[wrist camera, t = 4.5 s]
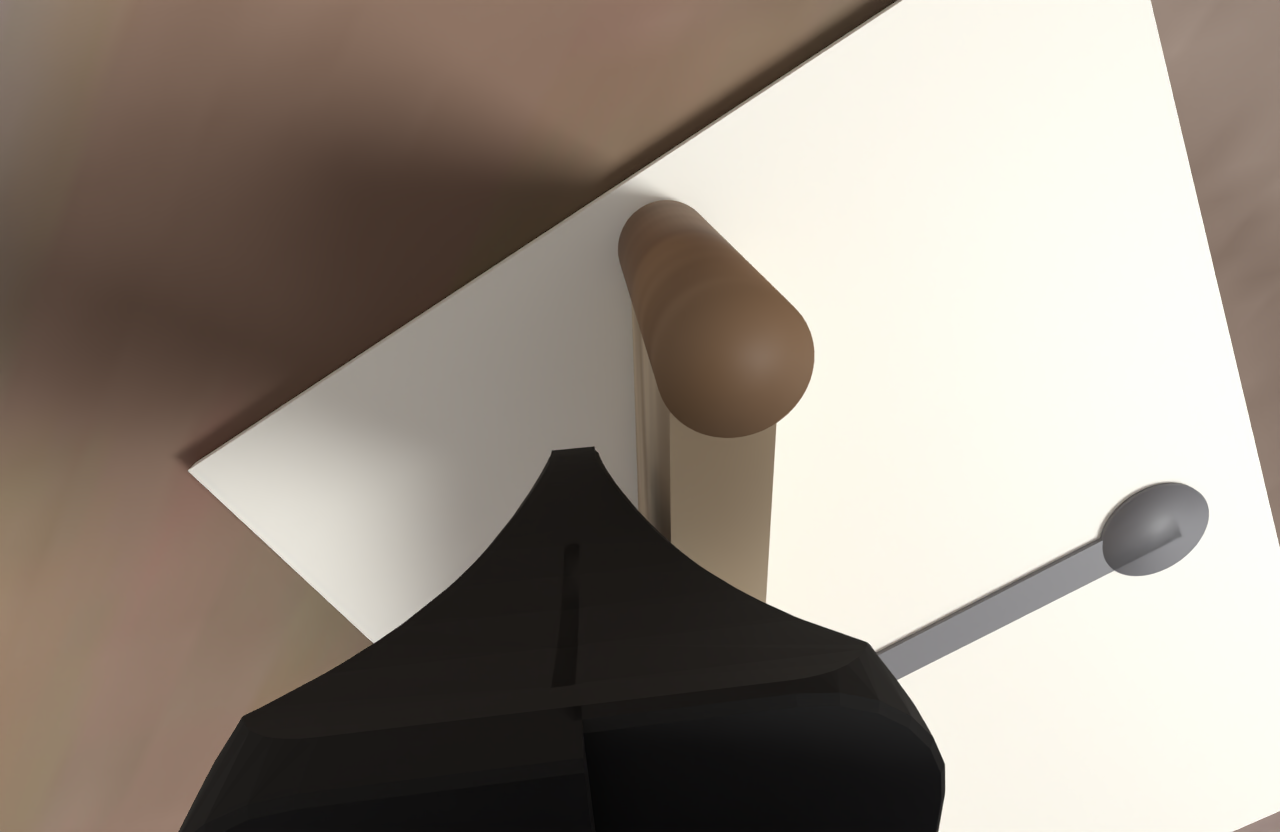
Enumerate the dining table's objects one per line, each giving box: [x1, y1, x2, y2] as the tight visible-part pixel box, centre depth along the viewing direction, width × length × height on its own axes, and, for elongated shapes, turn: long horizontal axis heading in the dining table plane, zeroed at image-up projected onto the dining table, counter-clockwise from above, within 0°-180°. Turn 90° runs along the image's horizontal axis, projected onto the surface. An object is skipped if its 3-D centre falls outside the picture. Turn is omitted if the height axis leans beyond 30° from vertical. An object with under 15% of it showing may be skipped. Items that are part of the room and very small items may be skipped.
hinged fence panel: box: [618, 200, 815, 603], centre depth 12 cm, size 2×12×6 cm, turn 2°
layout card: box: [188, 0, 1280, 832], centre depth 17 cm, size 18×25×1 cm
